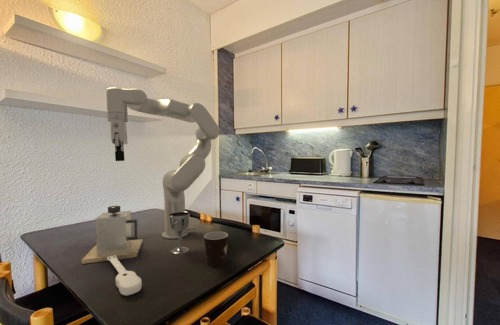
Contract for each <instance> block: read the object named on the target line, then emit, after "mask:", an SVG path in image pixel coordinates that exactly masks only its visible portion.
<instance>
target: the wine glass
mask: <svg viewBox="0 0 500 325" xmlns="http://www.w3.org/2000/svg"><path fill="white" fill-rule="evenodd" d="M190 216H191V215H190V212H189V211H185V212H174V213H171V214H169V222H170V227H171V229H172V230H173V231H174V232H175V233H176V234H177V236H178V238H177V239H178V247H175V248H172V249H171V251H170V253H172V255H173V254H174V255H183V254H185V253H187V252H189V251H190V248H189V247H186V246H182V238H183V237H182V235H183V233H184V232H185V230H186V229H187V228H188V226H189V225H190Z"/></svg>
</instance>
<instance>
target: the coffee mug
mask: <svg viewBox="0 0 500 325" xmlns="http://www.w3.org/2000/svg"><path fill="white" fill-rule="evenodd" d="M228 239H229V234H228V233H227V232H225V231H221V230H220V231H219V230H217V231H210V232H207V233H205V234H204V235H203V240H204V246H205V254H206V263H207V266H208V265H209V266H208V267H210V266H212V267H211V268H220V267H219V266H221V267H223V266H225V265H226V264H227V263H226V262H227V253H228V252H227V251H228V241H229V240H228ZM224 264H225V265H224ZM222 265H223V266H222Z"/></svg>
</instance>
